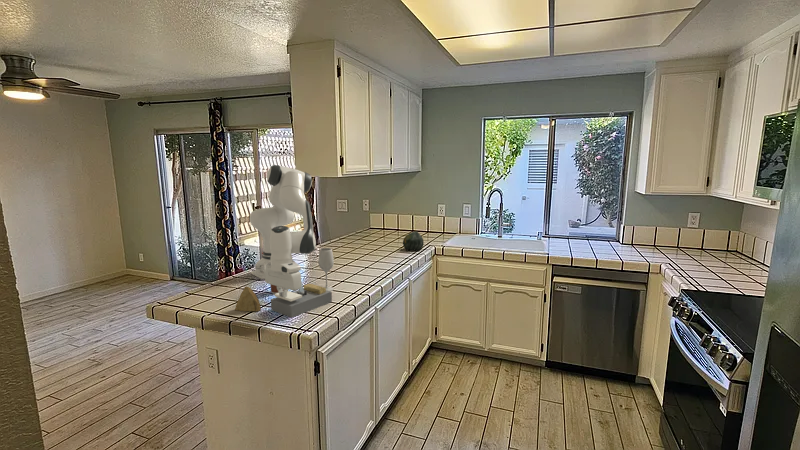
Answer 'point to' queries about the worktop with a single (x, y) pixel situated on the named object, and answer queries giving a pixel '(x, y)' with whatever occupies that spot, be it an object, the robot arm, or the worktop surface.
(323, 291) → the gold rectangular block
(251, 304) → the rock
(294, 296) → the white slab
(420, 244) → the squash
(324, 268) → the wineglass
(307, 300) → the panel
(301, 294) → the paddle
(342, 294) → the worktop surface
